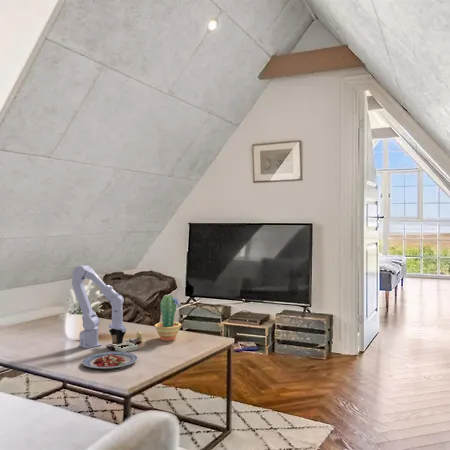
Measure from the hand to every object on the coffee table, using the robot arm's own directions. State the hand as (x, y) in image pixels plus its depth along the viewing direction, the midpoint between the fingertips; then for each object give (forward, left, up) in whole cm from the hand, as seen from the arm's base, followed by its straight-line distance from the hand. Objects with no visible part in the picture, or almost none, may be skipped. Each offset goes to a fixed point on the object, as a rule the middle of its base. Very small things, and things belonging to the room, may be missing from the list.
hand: (117, 343), depth 257 cm
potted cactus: (+29, -6, -2) cm, 30 cm away
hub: (+7, -2, -2) cm, 8 cm away
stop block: (0, 0, -2) cm, 2 cm away
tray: (-1, -9, -2) cm, 9 cm away
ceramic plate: (-19, -24, -2) cm, 30 cm away
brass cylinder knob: (+10, -2, 0) cm, 10 cm away
